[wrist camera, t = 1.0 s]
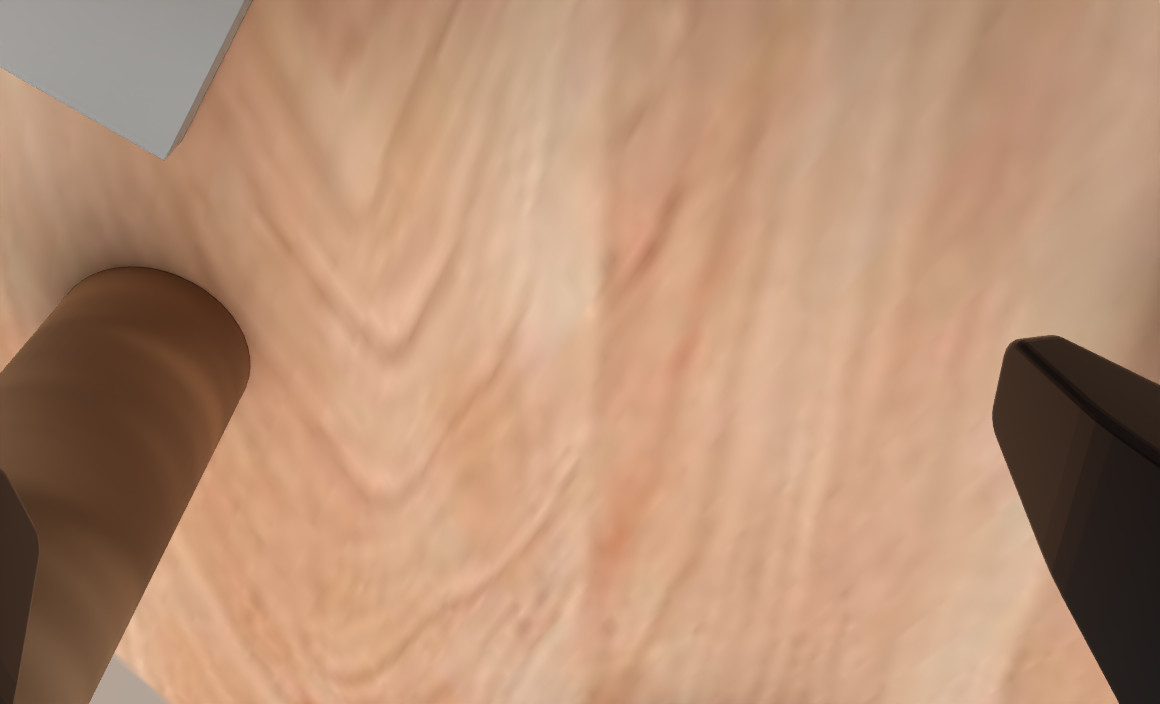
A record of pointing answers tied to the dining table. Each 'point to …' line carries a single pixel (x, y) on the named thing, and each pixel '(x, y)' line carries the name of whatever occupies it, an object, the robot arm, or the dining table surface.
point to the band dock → (122, 59)
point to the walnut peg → (110, 455)
